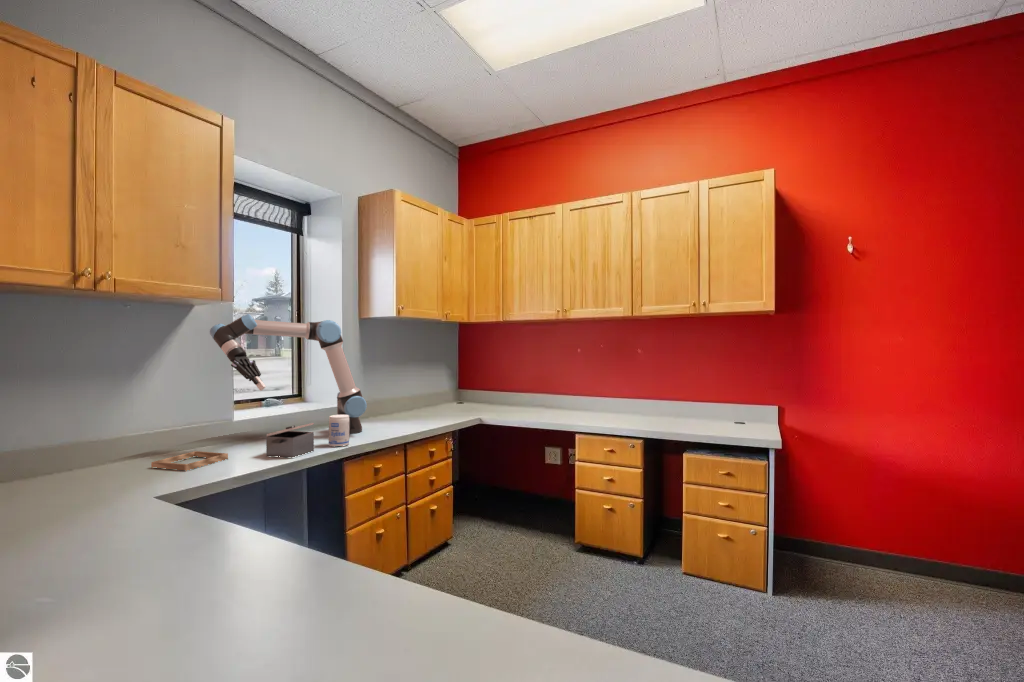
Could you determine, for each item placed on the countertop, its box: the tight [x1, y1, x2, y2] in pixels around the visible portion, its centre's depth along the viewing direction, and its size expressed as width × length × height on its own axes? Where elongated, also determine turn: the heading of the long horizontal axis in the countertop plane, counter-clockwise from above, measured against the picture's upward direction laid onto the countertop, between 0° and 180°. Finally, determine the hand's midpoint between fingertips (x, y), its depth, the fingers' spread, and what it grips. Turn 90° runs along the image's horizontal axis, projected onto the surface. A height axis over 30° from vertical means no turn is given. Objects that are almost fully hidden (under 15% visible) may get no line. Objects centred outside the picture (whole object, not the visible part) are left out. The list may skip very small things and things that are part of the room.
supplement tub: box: [328, 414, 350, 448], centre depth 238 cm, size 10×10×15 cm
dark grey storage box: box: [265, 430, 315, 458], centre depth 220 cm, size 19×14×9 cm
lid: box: [266, 422, 315, 436], centre depth 220 cm, size 14×15×2 cm
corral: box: [150, 450, 229, 472], centre depth 203 cm, size 20×18×2 cm
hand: (263, 388), depth 224 cm, fingers closed
